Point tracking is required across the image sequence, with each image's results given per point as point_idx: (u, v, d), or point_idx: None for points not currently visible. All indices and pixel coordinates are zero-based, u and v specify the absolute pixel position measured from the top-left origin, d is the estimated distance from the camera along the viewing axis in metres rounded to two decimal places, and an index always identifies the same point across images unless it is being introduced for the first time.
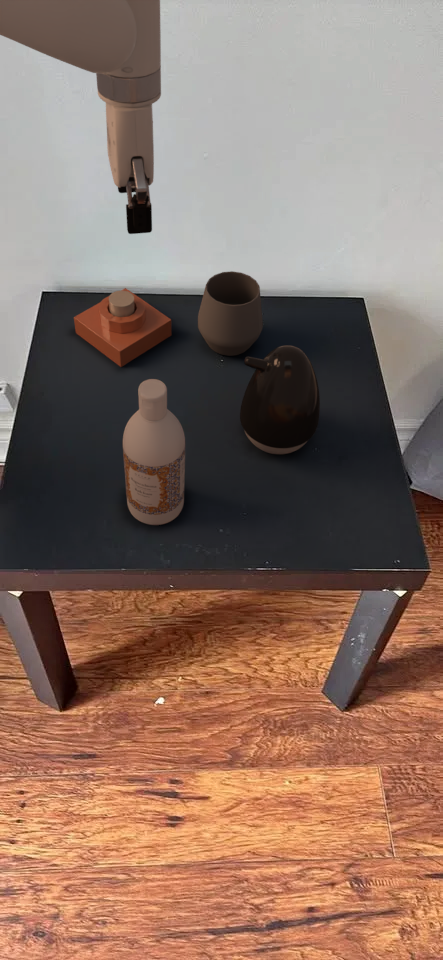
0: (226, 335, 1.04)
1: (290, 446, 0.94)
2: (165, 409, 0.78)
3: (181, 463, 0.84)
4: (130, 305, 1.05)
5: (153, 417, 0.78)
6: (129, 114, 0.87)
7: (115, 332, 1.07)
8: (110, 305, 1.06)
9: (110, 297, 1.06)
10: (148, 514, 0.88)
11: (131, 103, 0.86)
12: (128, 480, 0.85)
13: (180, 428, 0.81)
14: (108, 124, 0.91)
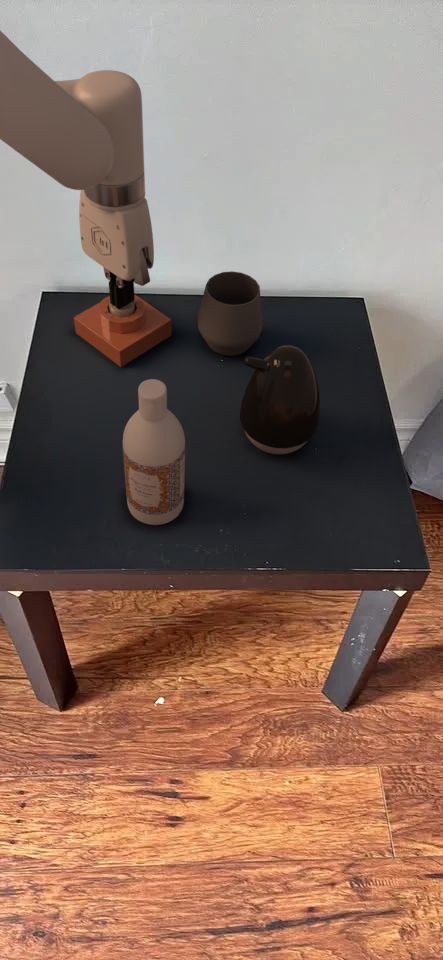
0: (226, 335, 1.04)
1: (290, 446, 0.94)
2: (165, 409, 0.78)
3: (181, 463, 0.84)
4: (131, 310, 1.06)
5: (153, 417, 0.78)
6: (135, 213, 0.91)
7: (115, 332, 1.07)
8: (110, 310, 1.06)
9: None
10: (148, 514, 0.88)
11: (133, 203, 0.91)
12: (128, 480, 0.85)
13: (180, 428, 0.81)
14: (104, 228, 0.94)
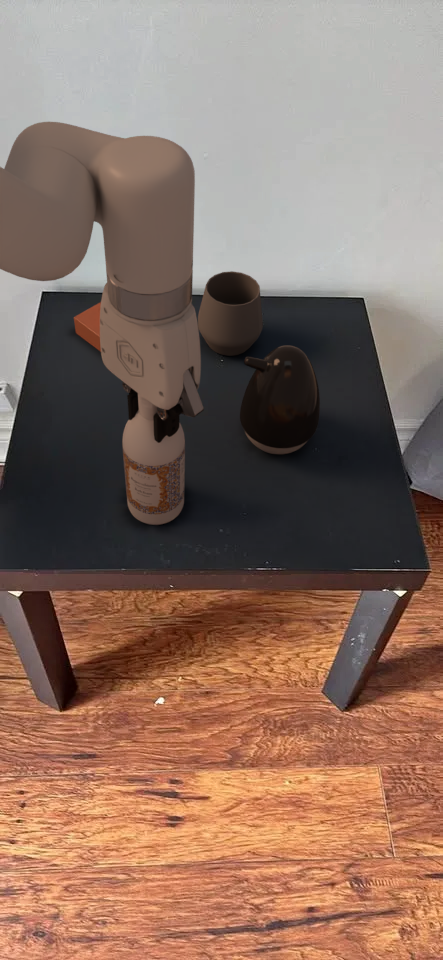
0: (226, 335, 1.04)
1: (290, 446, 0.94)
2: None
3: (181, 462, 0.84)
4: None
5: None
6: (180, 328, 0.66)
7: None
8: None
9: None
10: (148, 514, 0.88)
11: (177, 314, 0.66)
12: (128, 480, 0.85)
13: (180, 427, 0.81)
14: (135, 344, 0.68)
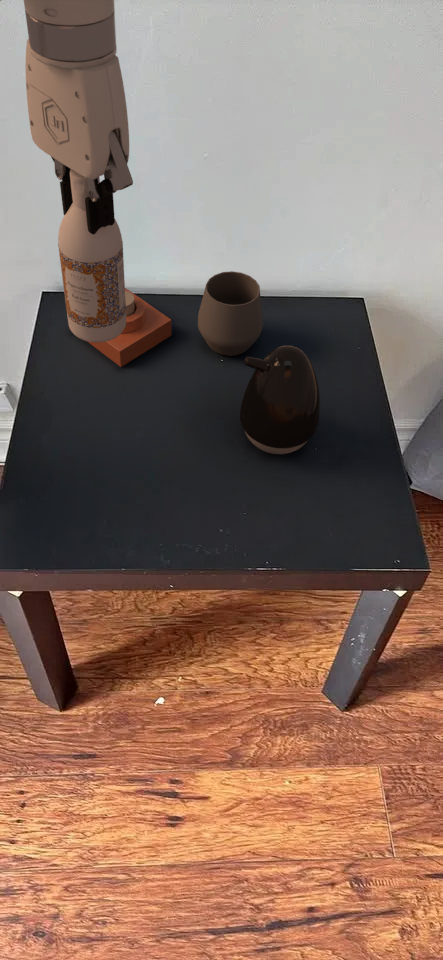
0: (226, 335, 1.04)
1: (290, 446, 0.94)
2: None
3: (118, 266, 0.82)
4: (130, 305, 1.05)
5: None
6: (101, 73, 0.64)
7: None
8: None
9: None
10: (87, 327, 0.87)
11: (98, 59, 0.64)
12: (65, 287, 0.84)
13: (116, 225, 0.80)
14: (59, 100, 0.67)
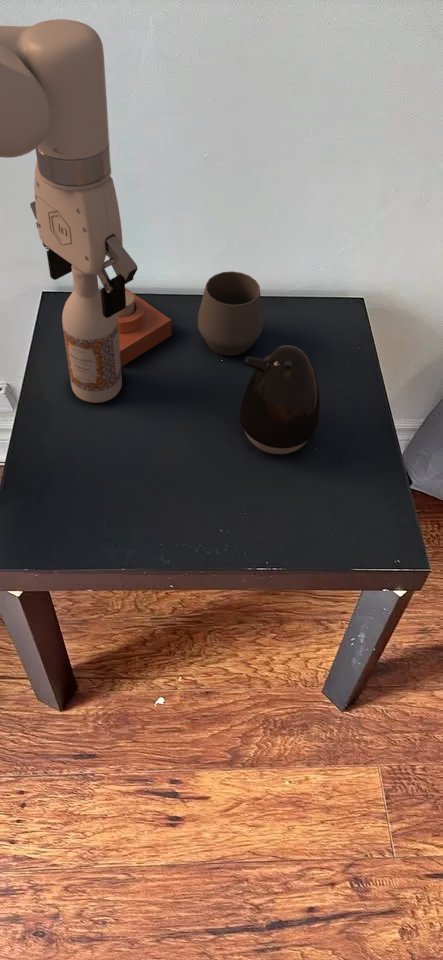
0: (226, 335, 1.04)
1: (290, 446, 0.94)
2: (96, 286, 0.90)
3: (114, 340, 0.96)
4: (130, 305, 1.05)
5: (86, 293, 0.90)
6: (99, 194, 0.77)
7: None
8: None
9: None
10: (88, 391, 1.00)
11: (96, 182, 0.77)
12: (69, 358, 0.97)
13: None
14: (63, 212, 0.80)
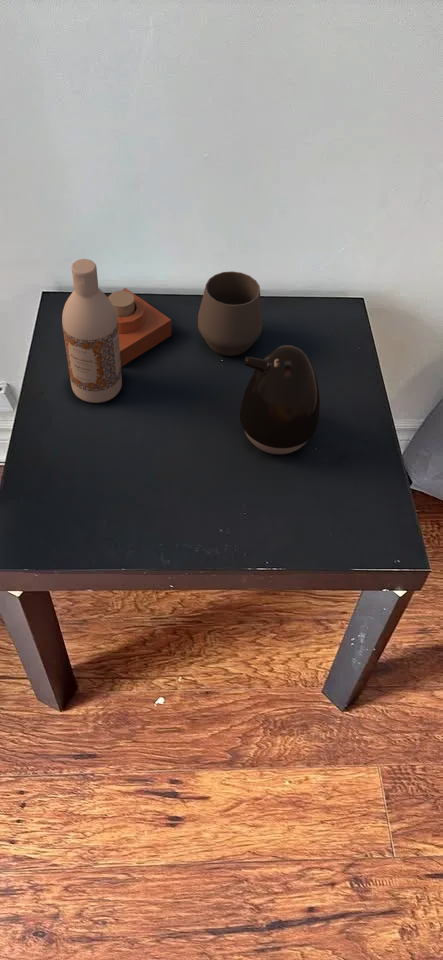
0: (226, 335, 1.04)
1: (290, 446, 0.94)
2: (96, 286, 0.90)
3: (114, 340, 0.96)
4: (130, 305, 1.05)
5: (86, 293, 0.90)
6: None
7: None
8: None
9: (110, 297, 1.06)
10: (88, 391, 1.00)
11: None
12: (69, 358, 0.97)
13: (111, 307, 0.93)
14: None
